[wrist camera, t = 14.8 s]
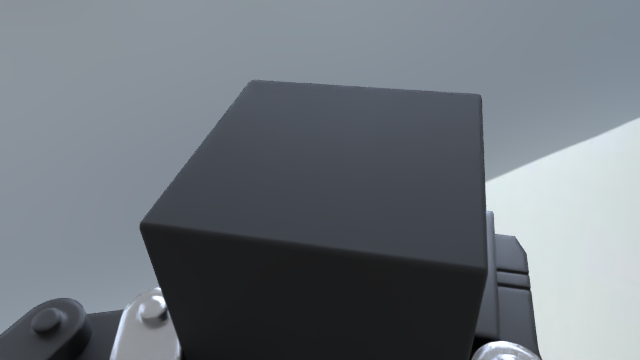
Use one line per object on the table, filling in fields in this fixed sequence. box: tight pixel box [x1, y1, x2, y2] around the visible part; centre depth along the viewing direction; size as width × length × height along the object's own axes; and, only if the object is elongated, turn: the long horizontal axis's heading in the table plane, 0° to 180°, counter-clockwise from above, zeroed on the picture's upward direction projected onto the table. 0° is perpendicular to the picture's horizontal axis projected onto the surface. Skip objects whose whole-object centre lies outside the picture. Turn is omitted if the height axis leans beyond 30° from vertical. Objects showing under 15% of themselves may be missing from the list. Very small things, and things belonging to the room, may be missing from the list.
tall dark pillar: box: [140, 80, 488, 360], centre depth 11 cm, size 5×5×10 cm
